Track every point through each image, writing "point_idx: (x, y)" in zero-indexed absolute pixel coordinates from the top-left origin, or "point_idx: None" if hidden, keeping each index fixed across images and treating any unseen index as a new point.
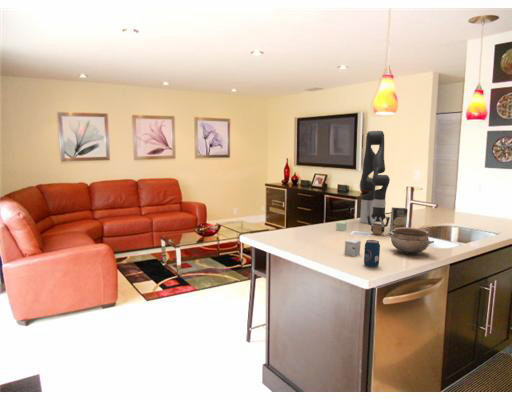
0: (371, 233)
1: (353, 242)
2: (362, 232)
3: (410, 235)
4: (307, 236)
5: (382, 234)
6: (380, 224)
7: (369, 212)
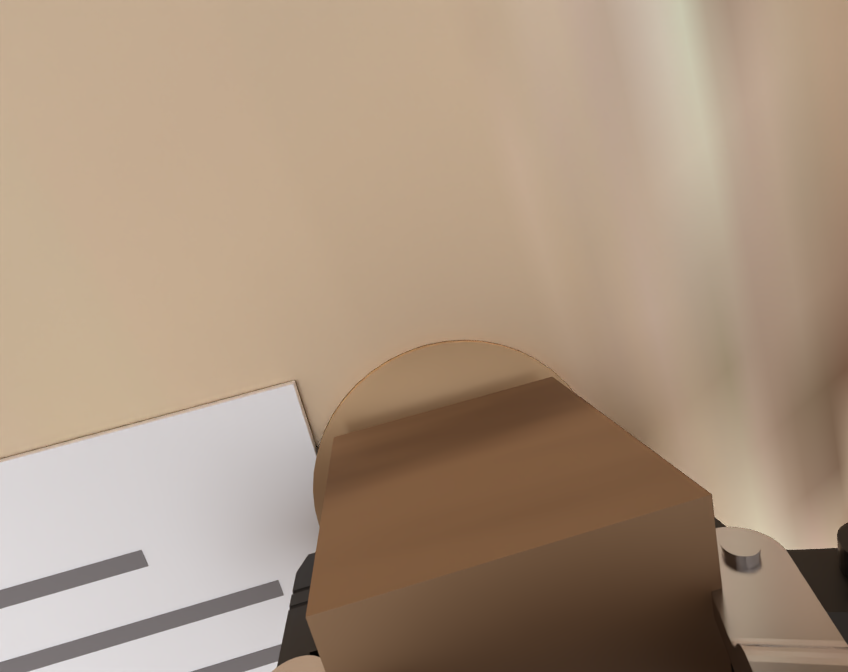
0: (299, 462)
1: None
2: (72, 519)
3: None
4: None
5: (543, 378)
6: (619, 587)
7: None
